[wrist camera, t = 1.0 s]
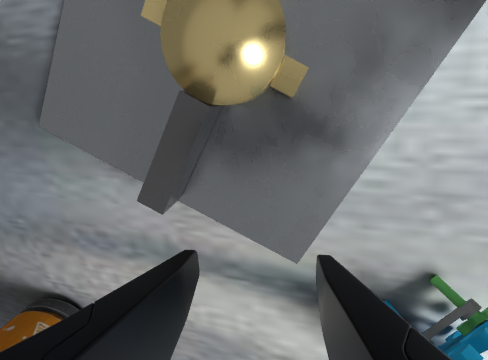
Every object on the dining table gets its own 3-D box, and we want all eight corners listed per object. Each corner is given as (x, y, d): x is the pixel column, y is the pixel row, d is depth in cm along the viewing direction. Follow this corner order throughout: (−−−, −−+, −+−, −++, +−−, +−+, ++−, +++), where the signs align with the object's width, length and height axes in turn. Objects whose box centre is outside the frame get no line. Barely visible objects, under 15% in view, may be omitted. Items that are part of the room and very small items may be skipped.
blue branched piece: (398, 396, 23) (385, 448, 15) (350, 331, 27) (320, 346, 19) (506, 323, 21) (553, 340, 13) (438, 263, 25) (444, 249, 17)
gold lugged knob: (193, -76, 15) (170, -122, 12) (341, 5, 15) (356, -20, 12) (115, 162, 20) (84, 173, 17) (224, 220, 21) (214, 242, 17)
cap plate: (136, -275, 14) (80, -416, 10) (520, -60, 14) (607, -119, 10) (49, 125, 22) (-1, 130, 18) (296, 256, 22) (299, 289, 18)
